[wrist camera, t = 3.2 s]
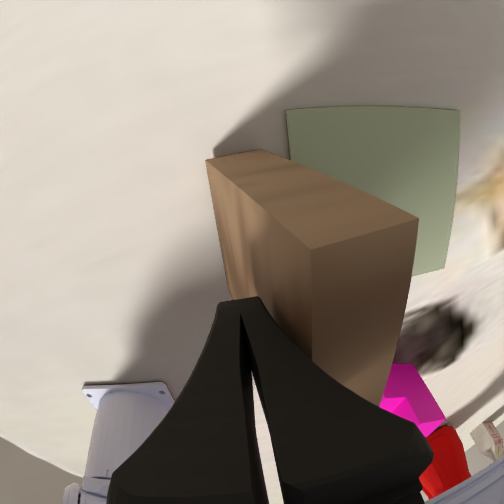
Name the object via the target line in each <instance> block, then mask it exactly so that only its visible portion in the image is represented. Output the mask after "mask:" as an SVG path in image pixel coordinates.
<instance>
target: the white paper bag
mask: <svg viewBox="0 0 504 504" xmlns="http://www.w3.org/2000/svg"><path fill="white" fill-rule="evenodd" d="M470 435H471V437H472V438H473V440H474V442H475V444H476V445H477V447H478V449H479V451H480V452H481V454H483V455H485V456H487V457H489V458H491V459H492V460H494V461H496V460H497V459H499V458H500V457H502V456H503V455H504V452H503V439H502V438H501V436H500V434H499V433H498V431H497V430H496V428H495V426H494V425H493V423H492V422H482V423H481V424H480V425H479V426H478V427H477V428H475V429H474V430H473V431H472V432H471V433H470Z"/></svg>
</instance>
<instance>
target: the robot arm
mask: <svg viewBox="0 0 504 504" xmlns="http://www.w3.org/2000/svg"><path fill="white" fill-rule="evenodd" d="M251 370H252V371H251ZM252 373H253V377H254V380H255V384H256V387H257V391H258V394H259V398H260V401H261V404H262V408H263V411H264V414H265V418H266V421H267V424H268V428H269V432H270V437H271V442H272V447H273V452H274V457H275V462H276V467H277V472H278V477H279V482H280V486H281V491H282V496H283V501H284V504H504V455H503V456H502V457H500V458H499V459H497V460H496V461H494V462H493V463H492V464H490V465H489V466H487V467H486V468H484V469H483V470H481V471H479V472H478V473H476V474H475V475H473V476H471V477H470V478H468V479H466V480H465V481H463V482H461V483H460V484H458V485H456V486H454V487H453V488H451V489H449V490H447V491H445V492H443V493H441V494H440V495H438V496H436V497H434V498H432V499H430V500H428V501H426V502H424V500H423V498H422V495H421V493H420V491H421V490H423V486H422V484H421V482H420V479H419V477H420V475H421V474H422V473H423V472H424V471H425V470H426V469H427V468H428V466H429V465H430V464H431V462H432V461H433V458H434V452H433V450H432V448H431V446H430V444H429V442H428V441H427V439H426V438H425V436H424V435H423V434H422V432H421V431H420V430H419V428H418V427H417V426H416V424H415V423H414V422H411V421H409V420H407V419H404V418H402V417H399V416H397V415H395V414H393V413H391V412H389V411H387V410H384V409H382V408H381V407H379V406H377V405H375V404H373V403H371V402H369V401H368V400H366V399H364V398H362V397H361V396H359V395H358V394H356V393H355V392H353V391H352V390H350V389H348V388H347V387H345V386H344V385H342V384H341V383H339V382H338V381H336V380H335V379H334V378H332V377H331V376H330V375H329V374H327V373H326V372H325V371H323V370H322V369H321V368H320V367H319V366H317V365H316V364H315V363H314V362H313V361H312V360H311V359H309V358H308V357H307V356H306V355H305V354H304V353H303V352H302V351H301V350H300V349H299V348H298V347H297V346H296V345H295V344H294V343H293V342H292V340H291V339H290V338H289V337H288V336H287V335H286V334H285V332H284V331H283V330H282V329H281V328H280V327H279V325H278V324H277V323H276V321H275V320H274V319H273V317H272V316H271V315H270V313H269V312H268V310H267V309H266V307H265V305H264V304H263V302H262V300H261V298H260V297H258V296H255V297H249V298H243V299H237V300H231V301H225V302H220V303H219V304H218V305H217V310H216V314H215V318H214V321H213V324H212V328H211V331H210V333H209V336H208V338H207V341H206V344H205V346H204V349H203V351H202V353H201V355H200V358H199V360H198V362H197V364H196V366H195V368H194V370H193V372H192V374H191V376H190V378H189V380H188V381H187V383H186V385H185V387H184V388H183V390H182V392H181V393H180V395H179V397H178V398H177V399H176V401H174V399H173V397H172V396H171V394H170V392H169V390H168V388H167V386H166V384H165V383H163V382H151V383H138V384H121V385H95V386H83V387H82V392H83V394H84V395H85V396H86V398H87V399H88V400H89V402H90V403H91V404H92V406H93V407H94V408H95V409H96V411H97V413H96V417H95V422H94V427H93V431H92V436H91V441H90V447H89V452H88V458H87V463H86V469H85V475H84V477H83V482H82V488H81V489H79V487H80V485H79V484H76V483H72V485H69V486H67V487H66V488H65V491H64V496H63V502H62V504H269V501H268V496H267V491H266V485H265V480H264V475H263V470H262V464H261V459H260V453H259V448H258V442H257V436H256V428H255V415H254V400H253V385H252Z"/></svg>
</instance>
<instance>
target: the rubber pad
mask: <svg viewBox="0 0 504 504" xmlns="http://www.w3.org/2000/svg"><path fill="white" fill-rule="evenodd" d="M285 111H286V121H287V131H288V141H289V151H290V161H293V162H296V163H298V164H301V165H303V166H306V167H308V168H311V169H313V170H316V171H318V172H320V173H323V174H325V175H328V176H330V177H332V178H335V179H337V180H339V181H342V182H344V183H346V184H348V185H351V186H353V187H355V188H357V189H360V190H362V191H364V192H366V193H368V194H371V195H373V196H375V197H377V198H379V199H381V200H383V201H385V202H388V203H390V204H392V205H394V206H396V207H398V208H400V209H402V210H404V211H406V212H408V213H410V214H412V215H414V216H416V217H418V218H419V225H418V234H417V242H416V250H415V257H414V264H413V270H412V276H416V275H420V274H424V273H428V272H431V271H435V270H439V269H443V268H444V267H445V262H446V257H447V252H448V246H449V240H450V234H451V228H452V221H453V213H454V205H455V196H456V186H457V174H458V159H459V111H457V110H446V109H434V108H418V107H393V106H345V107H320V108H303V109H290V110H285ZM412 276H411V277H412Z"/></svg>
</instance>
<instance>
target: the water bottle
mask: <svg viewBox="0 0 504 504" xmlns="http://www.w3.org/2000/svg"><path fill="white" fill-rule="evenodd" d="M425 438H426V439H427V441H428V442H429V444H430V446H431V448H432V450H433V452H434V458H433V461H432V462H431V464H430V465H429V466H428V468H427V469H426V470H425V471H424V472H423V473H422V474H421V475H420V477H419V479H420V482H421V484H422V486H423V491H424V493H425V494H426V495H427V496H428V498H429V500H430V499H432V498H434V497H436V496H438V495H440V494H441V493H443V492H445V491H447V490H449V489H451V488H453V487H454V486H456V485H458V484H460V483H461V482H463V481H465V480H466V479H468V478H470V477H471V475H470V473H469V470H468V465H467V461H466V456H465V452H464V448H463V444H462V442H461V440H460V438H459V436H458V434H457V432H456V430H455V429H454V428H453V427H452V426H444V427H441V428H439V429H438V430H436V431H434V432H432V433H431V434H430V435H429V436H427V437H425Z"/></svg>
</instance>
